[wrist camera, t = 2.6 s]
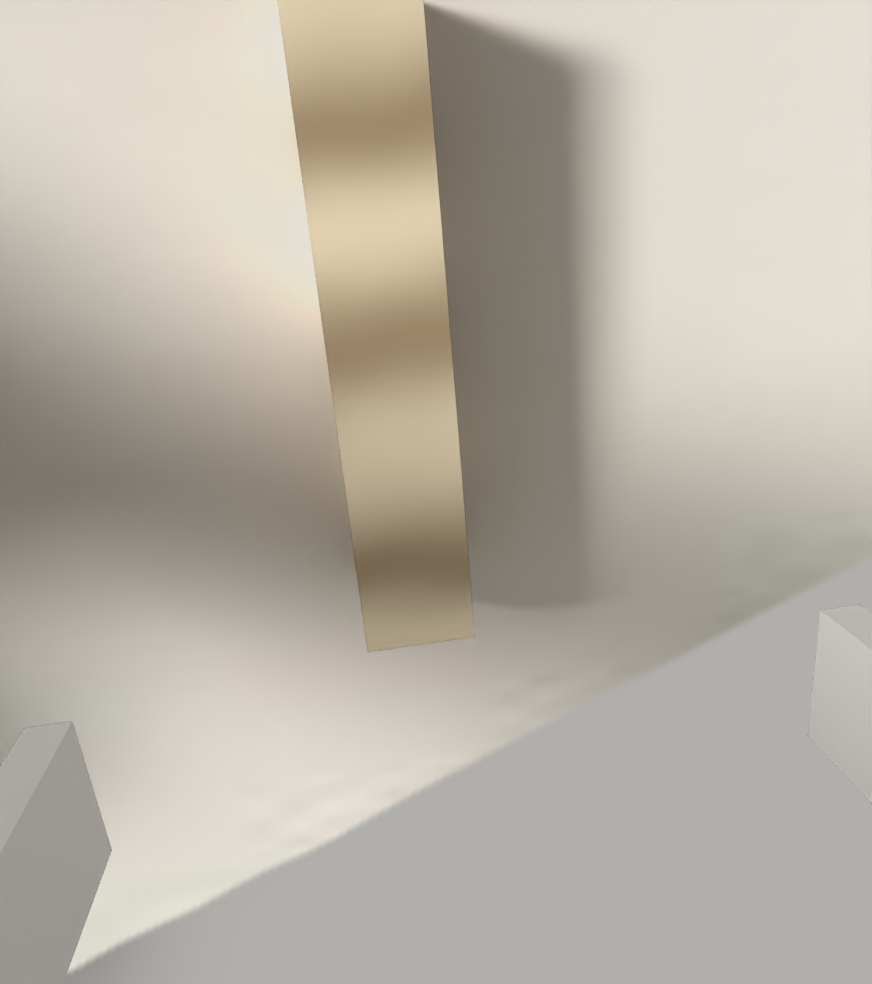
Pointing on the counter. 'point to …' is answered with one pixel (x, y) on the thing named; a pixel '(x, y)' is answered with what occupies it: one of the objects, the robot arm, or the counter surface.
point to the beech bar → (383, 306)
